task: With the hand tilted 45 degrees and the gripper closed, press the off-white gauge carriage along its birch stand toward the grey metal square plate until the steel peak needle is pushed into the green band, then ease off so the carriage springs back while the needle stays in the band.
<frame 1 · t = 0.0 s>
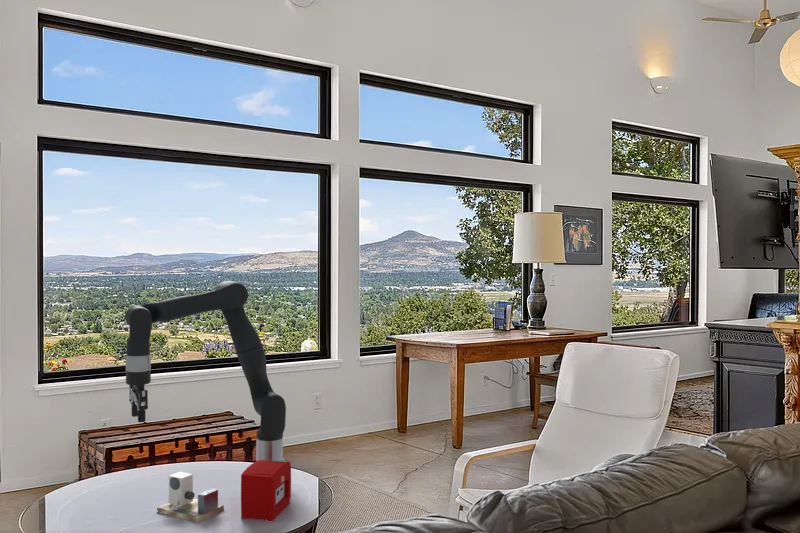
hand: (138, 419, 239), 29 cm above the table, tool pointing down, fingers open, 8 cm apart
gauge stand: (190, 511, 240), on the table
gauge carriage: (179, 490, 239), point 7 cm above the table, slide at 0.0 cm
peak needle: (178, 501, 236), point 4 cm above the table, slide at 0.0 cm
fire alarm: (266, 511, 241), on the table
grey metal square plate: (208, 501, 236), on the gauge stand, point 4 cm above the table
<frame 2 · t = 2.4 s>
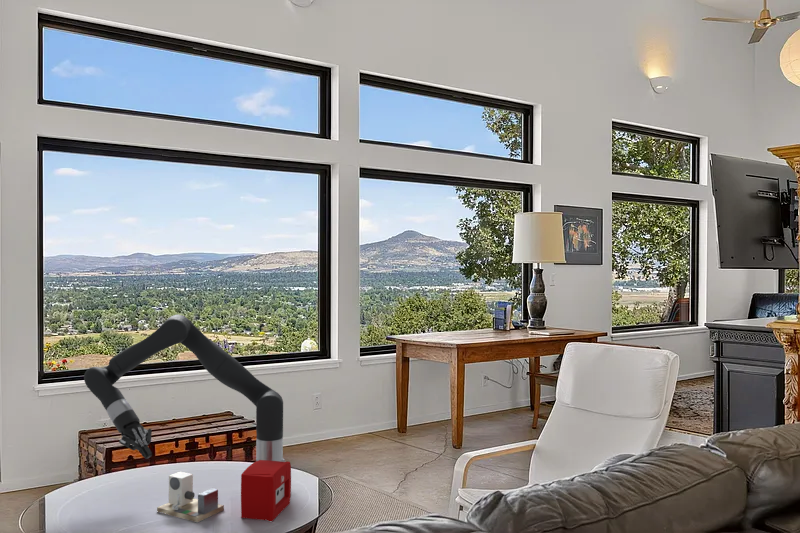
hand: (149, 457, 248), 15 cm above the table, tool tilted 45°, fingers closed
nothing on the table moved.
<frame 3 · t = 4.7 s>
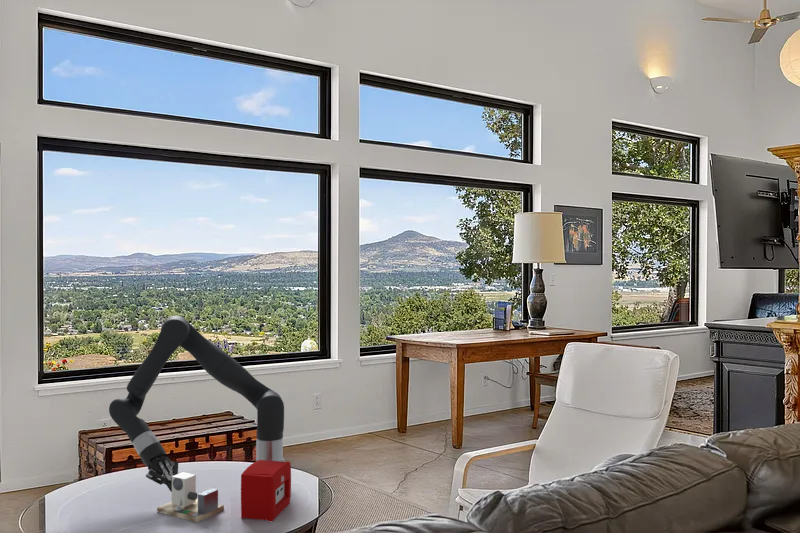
hand: (176, 491, 242), 5 cm above the table, tool tilted 45°, fingers closed
gauge carriage: (182, 491, 239), point 7 cm above the table, slide at 1.3 cm, touching gripper, peak needle
peak needle: (180, 502, 235), point 4 cm above the table, slide at 1.1 cm, touching gauge carriage
everything else where it was.
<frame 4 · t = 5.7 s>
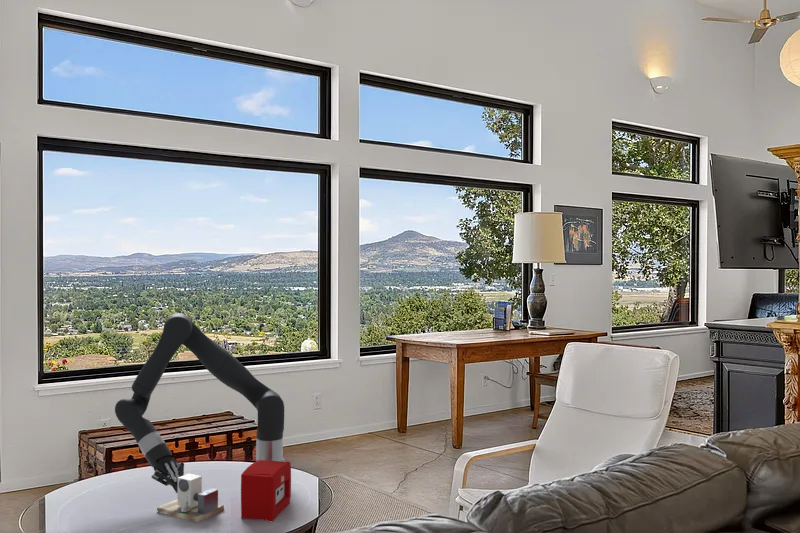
hand: (182, 492, 241), 5 cm above the table, tool tilted 45°, fingers closed
gauge carriage: (188, 492, 238), point 6 cm above the table, slide at 3.8 cm, touching gripper, peak needle
peak needle: (186, 503, 234), point 4 cm above the table, slide at 3.6 cm, touching gauge carriage
everything else where it was.
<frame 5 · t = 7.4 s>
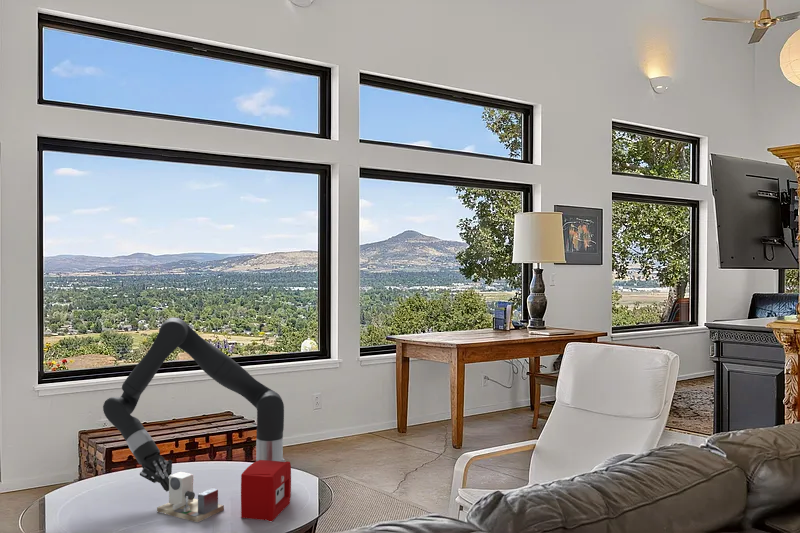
hand: (170, 489, 243), 5 cm above the table, tool tilted 45°, fingers closed
gauge carriage: (179, 490, 239), point 7 cm above the table, slide at 0.1 cm
peak needle: (186, 503, 234), point 4 cm above the table, slide at 3.6 cm
everything else where it was.
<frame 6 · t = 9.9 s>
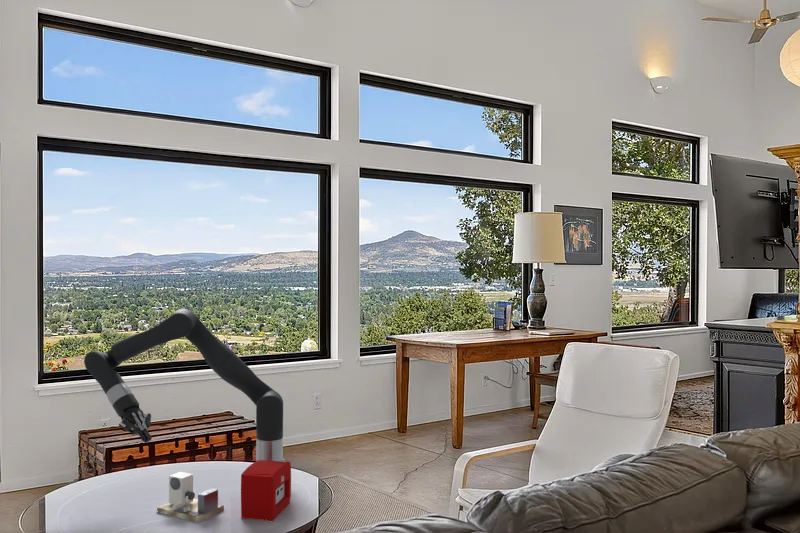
hand: (148, 441, 248), 20 cm above the table, tool tilted 45°, fingers closed
nothing on the table moved.
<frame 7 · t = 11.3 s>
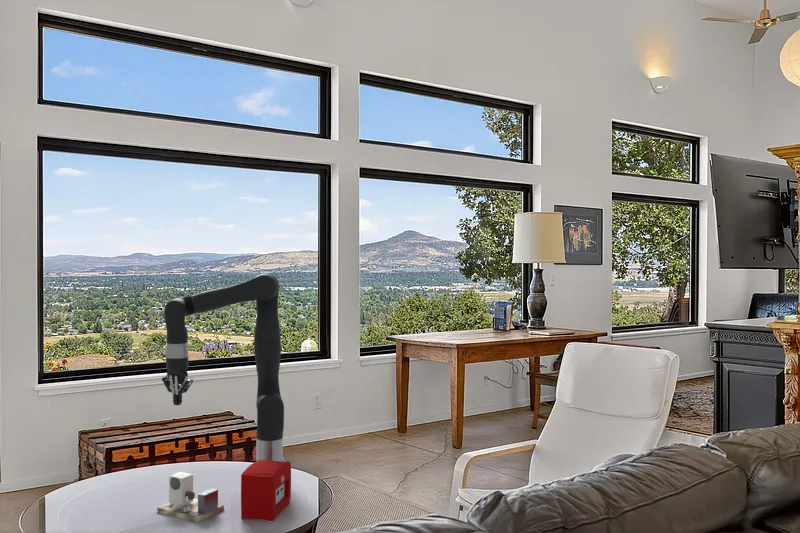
hand: (177, 404, 262), 29 cm above the table, tool pointing down, fingers closed
nothing on the table moved.
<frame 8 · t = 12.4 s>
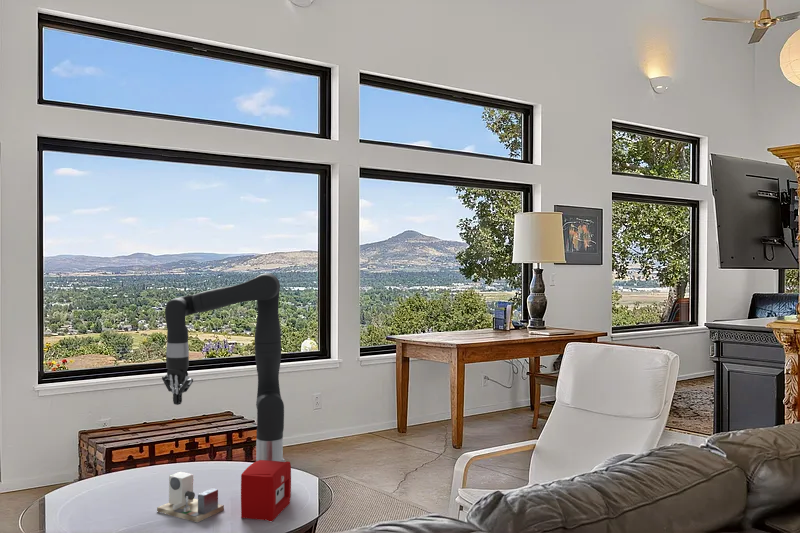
hand: (177, 404, 262), 29 cm above the table, tool pointing down, fingers closed
nothing on the table moved.
at the end: peak needle slide at 3.6 cm; gauge carriage slide at 0.1 cm; fire alarm moved 0.3 cm from its start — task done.
